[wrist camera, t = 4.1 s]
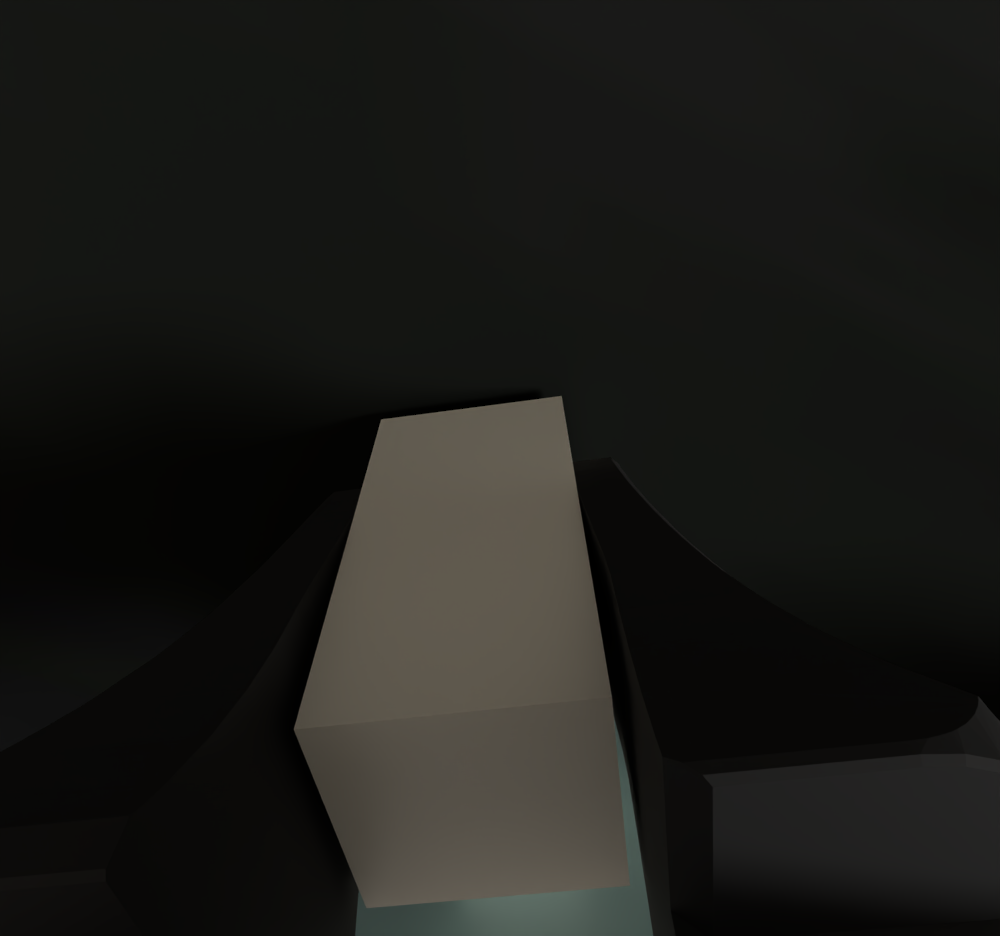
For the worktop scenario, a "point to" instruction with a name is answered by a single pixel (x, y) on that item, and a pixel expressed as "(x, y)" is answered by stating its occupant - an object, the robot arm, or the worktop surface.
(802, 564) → the worktop surface
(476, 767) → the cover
